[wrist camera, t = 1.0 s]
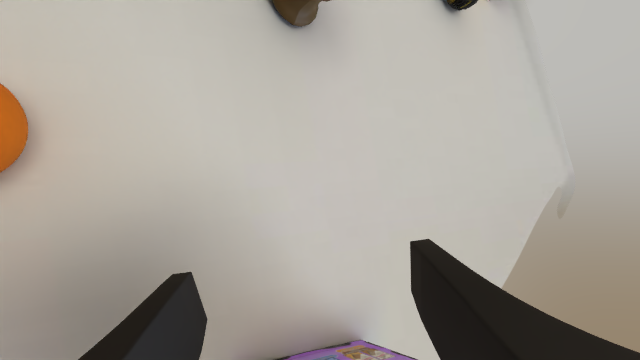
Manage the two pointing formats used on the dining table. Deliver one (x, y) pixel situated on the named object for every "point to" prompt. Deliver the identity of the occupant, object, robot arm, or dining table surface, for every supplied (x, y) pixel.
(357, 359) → the candy box
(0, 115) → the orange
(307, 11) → the kendama
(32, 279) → the dining table surface
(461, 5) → the tape measure
